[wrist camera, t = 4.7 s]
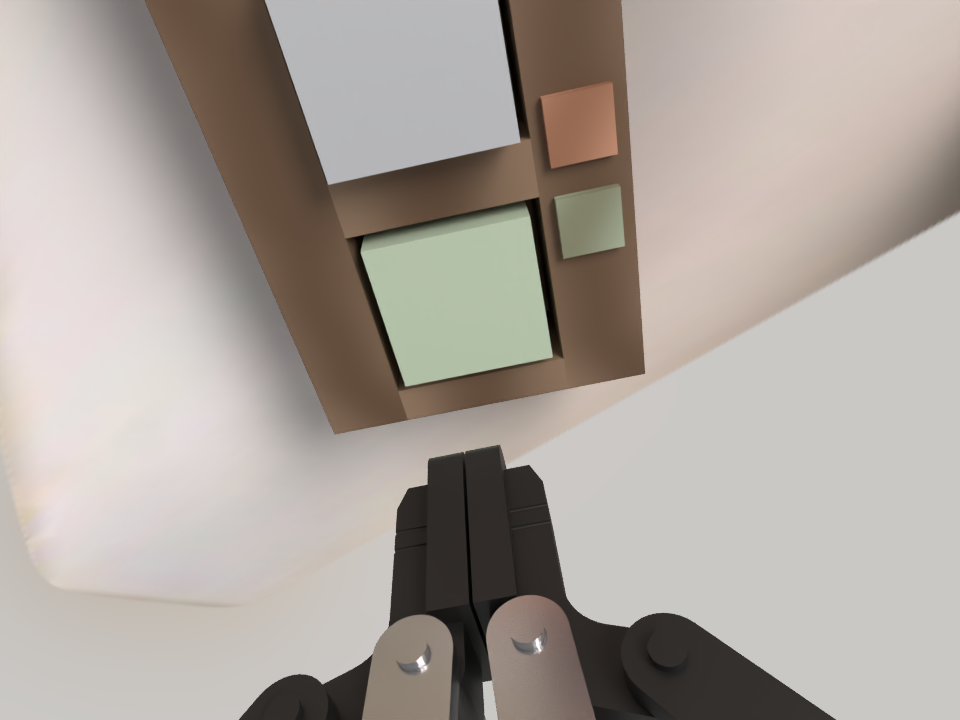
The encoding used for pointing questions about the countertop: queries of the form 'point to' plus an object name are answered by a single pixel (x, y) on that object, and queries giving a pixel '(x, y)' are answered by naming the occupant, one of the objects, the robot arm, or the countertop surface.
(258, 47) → the wooden compartment tray
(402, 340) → the sage key
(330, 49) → the grey key
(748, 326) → the countertop surface
